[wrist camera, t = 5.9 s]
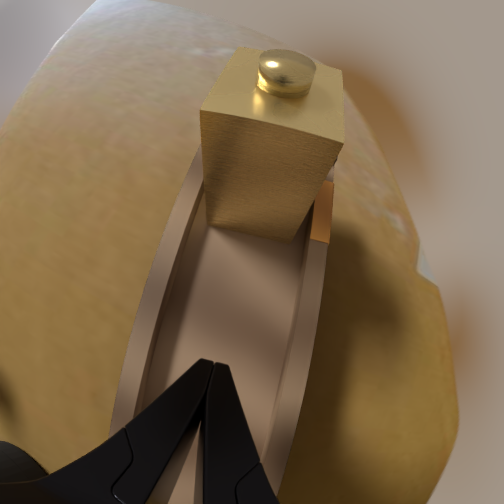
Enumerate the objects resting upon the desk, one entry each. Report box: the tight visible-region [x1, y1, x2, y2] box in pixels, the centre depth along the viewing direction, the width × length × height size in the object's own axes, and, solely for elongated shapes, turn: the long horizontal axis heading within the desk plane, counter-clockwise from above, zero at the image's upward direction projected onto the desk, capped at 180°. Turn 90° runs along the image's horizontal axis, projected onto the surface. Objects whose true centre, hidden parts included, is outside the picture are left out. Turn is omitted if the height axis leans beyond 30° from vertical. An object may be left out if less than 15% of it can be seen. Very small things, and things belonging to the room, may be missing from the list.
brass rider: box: [200, 47, 344, 245], centre depth 12 cm, size 5×5×9 cm
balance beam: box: [108, 144, 338, 504], centre depth 14 cm, size 22×9×6 cm, turn 168°
